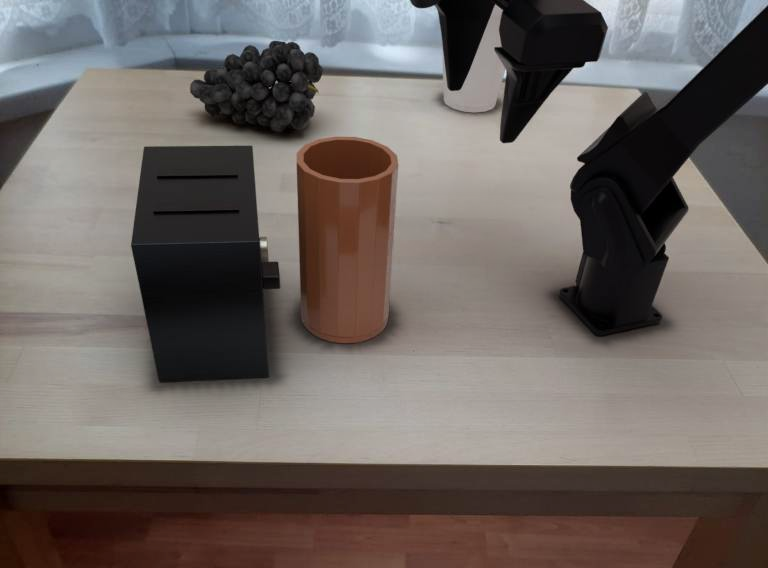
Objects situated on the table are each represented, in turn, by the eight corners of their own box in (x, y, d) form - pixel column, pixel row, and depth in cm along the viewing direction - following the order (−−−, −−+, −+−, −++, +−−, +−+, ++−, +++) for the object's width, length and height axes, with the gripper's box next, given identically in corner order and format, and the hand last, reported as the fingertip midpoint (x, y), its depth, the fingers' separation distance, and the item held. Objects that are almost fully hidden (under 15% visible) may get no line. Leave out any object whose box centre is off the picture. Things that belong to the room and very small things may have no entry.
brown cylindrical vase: (364, 286, 67) (370, 130, 57) (402, 331, 63) (415, 172, 53) (288, 303, 65) (281, 144, 55) (322, 352, 61) (321, 189, 51)
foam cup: (426, 85, 97) (436, -39, 88) (498, 86, 99) (517, -36, 89) (438, 117, 91) (451, -12, 82) (515, 118, 92) (537, -10, 83)
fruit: (172, 28, 80) (314, 43, 78) (204, 32, 87) (334, 46, 86) (175, 122, 85) (310, 138, 83) (205, 119, 92) (330, 134, 90)
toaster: (275, 274, 68) (268, 143, 59) (285, 376, 59) (278, 238, 50) (166, 277, 66) (143, 143, 58) (158, 382, 57) (130, 242, 49)
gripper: (355, -175, 53) (342, 72, 65) (480, -92, 42) (437, 184, 54) (499, -169, 56) (462, 64, 68) (648, -91, 46) (573, 168, 58)
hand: (479, 115), depth 62 cm, fingers open, 9 cm apart
